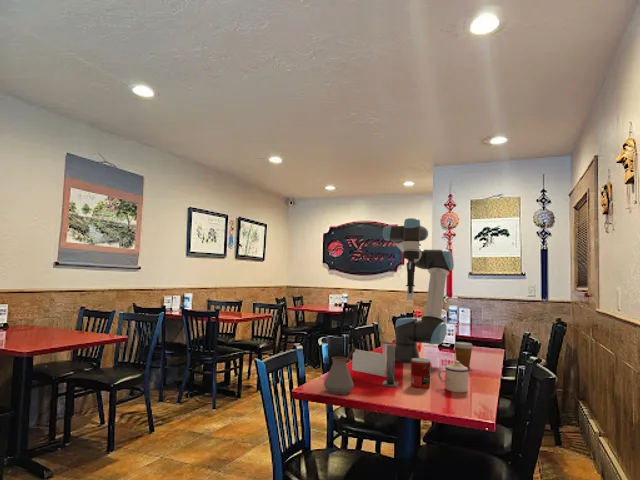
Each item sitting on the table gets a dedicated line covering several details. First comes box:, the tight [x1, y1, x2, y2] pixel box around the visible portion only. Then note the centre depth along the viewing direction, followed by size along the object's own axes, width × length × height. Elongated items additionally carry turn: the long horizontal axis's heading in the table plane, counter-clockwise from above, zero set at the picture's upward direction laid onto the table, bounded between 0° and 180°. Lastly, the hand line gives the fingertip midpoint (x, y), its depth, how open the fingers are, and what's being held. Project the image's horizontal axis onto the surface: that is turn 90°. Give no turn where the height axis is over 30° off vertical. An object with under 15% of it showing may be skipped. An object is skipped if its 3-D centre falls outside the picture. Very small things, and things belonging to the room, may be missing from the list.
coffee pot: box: [323, 347, 359, 395], centre depth 175 cm, size 21×12×15 cm, turn 152°
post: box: [381, 344, 400, 388], centre depth 185 cm, size 6×6×16 cm
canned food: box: [410, 357, 431, 390], centre depth 184 cm, size 8×8×11 cm
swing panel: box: [351, 340, 395, 378], centre depth 192 cm, size 20×2×14 cm, turn 49°
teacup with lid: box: [437, 360, 469, 394], centre depth 182 cm, size 12×9×12 cm
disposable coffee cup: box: [453, 341, 474, 368], centre depth 233 cm, size 10×10×12 cm
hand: (410, 300), depth 210 cm, fingers closed
